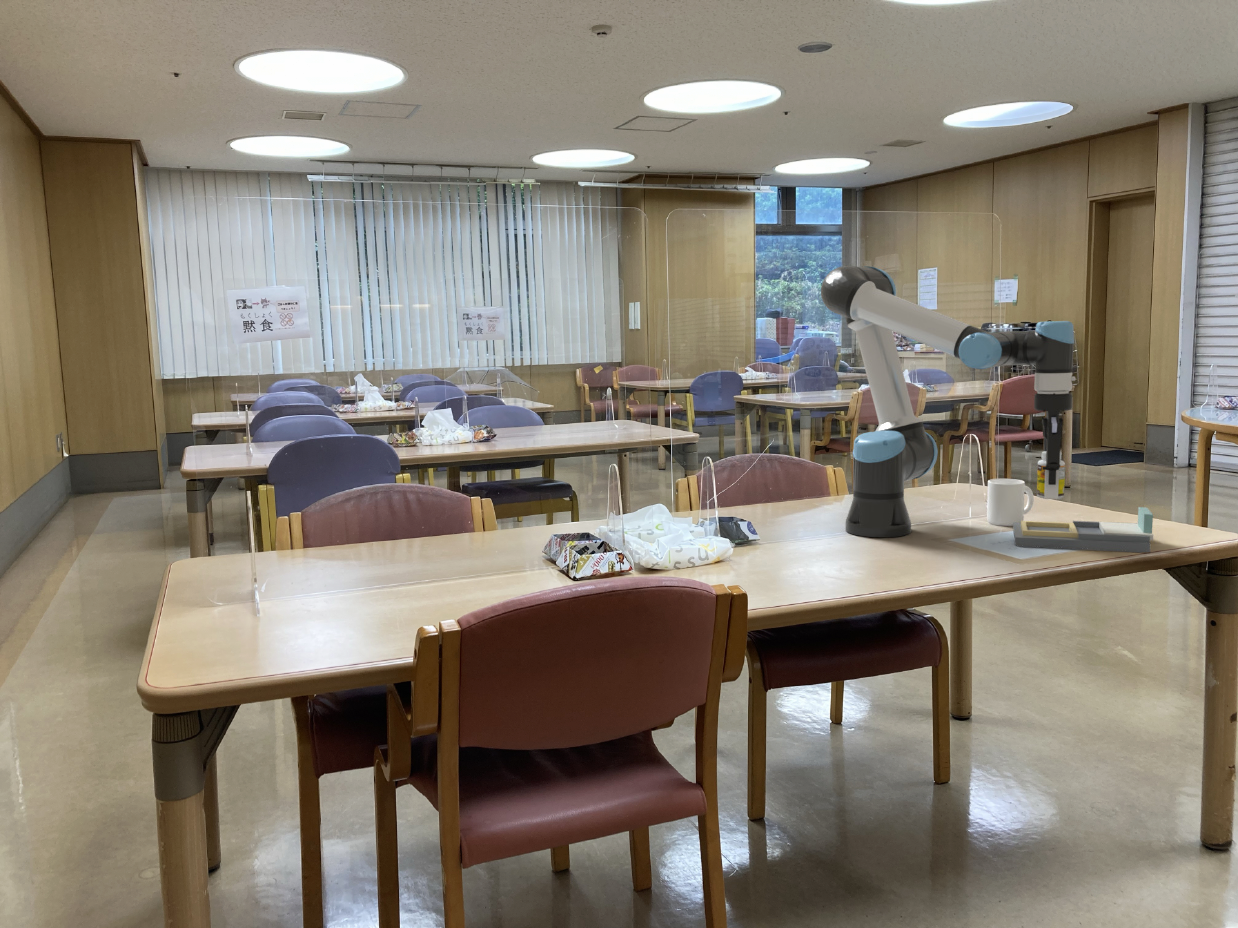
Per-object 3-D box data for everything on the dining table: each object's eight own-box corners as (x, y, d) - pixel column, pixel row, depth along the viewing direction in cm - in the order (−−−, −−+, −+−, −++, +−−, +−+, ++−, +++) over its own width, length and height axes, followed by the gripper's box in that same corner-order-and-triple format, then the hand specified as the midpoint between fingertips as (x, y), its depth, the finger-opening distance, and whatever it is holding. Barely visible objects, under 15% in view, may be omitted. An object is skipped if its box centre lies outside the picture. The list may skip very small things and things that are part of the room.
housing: (1015, 546, 207) (1015, 531, 206) (1012, 530, 222) (1013, 517, 221) (1150, 552, 198) (1150, 537, 197) (1138, 536, 213) (1138, 522, 212)
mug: (1021, 517, 236) (1022, 476, 235) (1044, 523, 228) (1045, 481, 227) (979, 521, 233) (980, 479, 232) (1001, 527, 226) (1002, 485, 224)
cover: (1105, 538, 202) (1106, 514, 202) (1099, 527, 213) (1100, 504, 212) (1153, 540, 199) (1154, 516, 199) (1144, 529, 210) (1145, 506, 209)
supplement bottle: (1031, 496, 212) (1032, 451, 211) (1051, 494, 214) (1052, 449, 212) (1049, 500, 207) (1050, 454, 205) (1069, 498, 208) (1071, 452, 207)
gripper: (1076, 395, 197) (1072, 504, 200) (1068, 389, 214) (1065, 489, 218) (1036, 395, 200) (1034, 503, 203) (1032, 389, 217) (1029, 488, 220)
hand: (1050, 496), depth 210 cm, fingers closed on supplement bottle, 6 cm apart
